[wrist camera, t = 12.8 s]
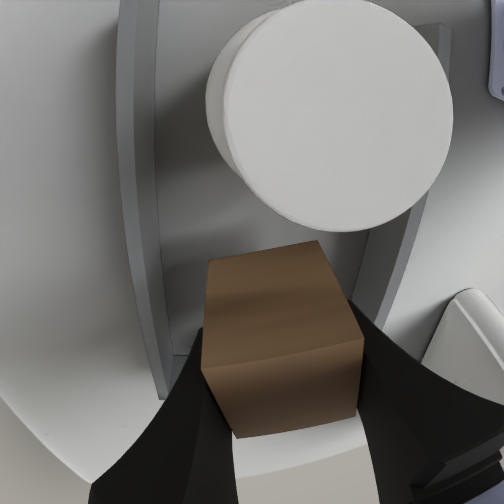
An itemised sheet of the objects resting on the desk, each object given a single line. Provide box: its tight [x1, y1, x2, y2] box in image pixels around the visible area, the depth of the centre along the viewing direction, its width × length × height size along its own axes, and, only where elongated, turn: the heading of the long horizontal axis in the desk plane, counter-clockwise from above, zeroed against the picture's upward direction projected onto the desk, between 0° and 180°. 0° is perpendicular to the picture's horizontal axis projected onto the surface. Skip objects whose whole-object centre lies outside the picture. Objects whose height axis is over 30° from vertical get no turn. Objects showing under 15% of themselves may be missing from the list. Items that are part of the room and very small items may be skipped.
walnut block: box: [201, 240, 364, 439], centre depth 10 cm, size 4×4×5 cm
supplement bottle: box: [205, 0, 453, 232], centre depth 8 cm, size 5×5×8 cm
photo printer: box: [421, 289, 504, 468], centre depth 15 cm, size 10×4×12 cm, turn 1°
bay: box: [116, 0, 452, 400], centre depth 13 cm, size 11×19×3 cm, turn 176°
